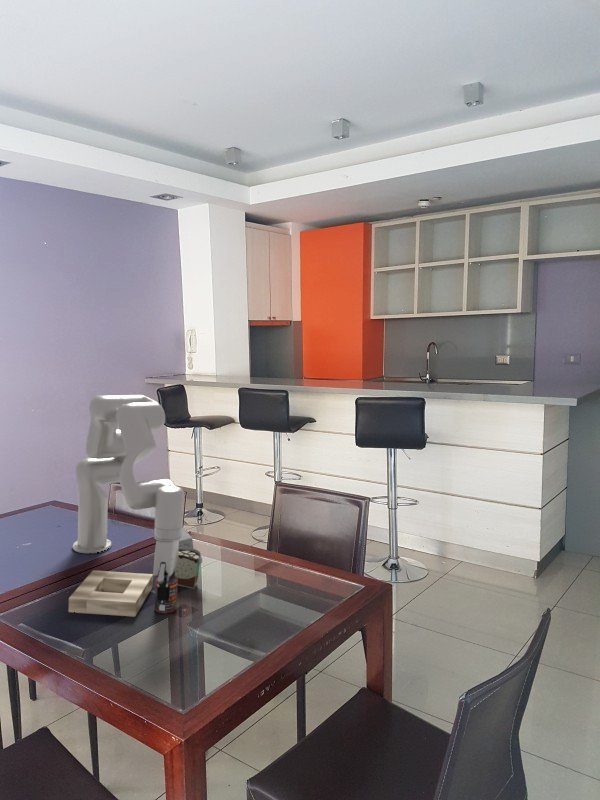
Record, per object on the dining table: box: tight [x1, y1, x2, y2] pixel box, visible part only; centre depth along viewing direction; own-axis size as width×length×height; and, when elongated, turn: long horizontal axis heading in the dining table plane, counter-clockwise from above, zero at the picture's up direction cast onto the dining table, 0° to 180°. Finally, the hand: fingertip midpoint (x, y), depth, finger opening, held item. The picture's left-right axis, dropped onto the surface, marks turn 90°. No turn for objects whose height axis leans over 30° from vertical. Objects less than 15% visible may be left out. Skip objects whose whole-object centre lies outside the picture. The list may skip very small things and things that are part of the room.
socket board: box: [68, 569, 154, 617], centre depth 167 cm, size 18×18×4 cm
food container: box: [175, 547, 203, 590], centre depth 180 cm, size 12×6×10 cm, turn 71°
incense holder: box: [179, 527, 194, 549], centre depth 193 cm, size 10×8×10 cm
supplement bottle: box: [154, 571, 179, 615], centre depth 162 cm, size 6×6×11 cm
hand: (166, 593), depth 162 cm, fingers closed on supplement bottle, 6 cm apart
